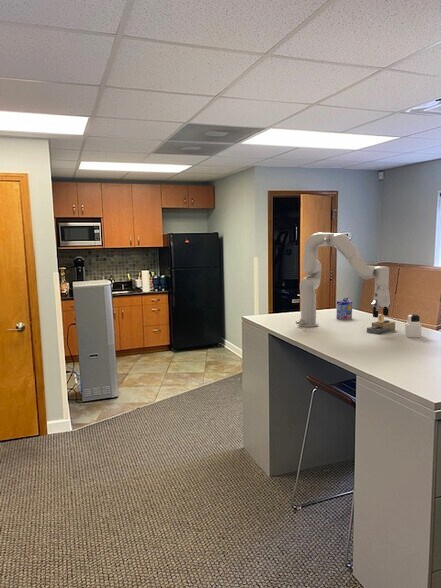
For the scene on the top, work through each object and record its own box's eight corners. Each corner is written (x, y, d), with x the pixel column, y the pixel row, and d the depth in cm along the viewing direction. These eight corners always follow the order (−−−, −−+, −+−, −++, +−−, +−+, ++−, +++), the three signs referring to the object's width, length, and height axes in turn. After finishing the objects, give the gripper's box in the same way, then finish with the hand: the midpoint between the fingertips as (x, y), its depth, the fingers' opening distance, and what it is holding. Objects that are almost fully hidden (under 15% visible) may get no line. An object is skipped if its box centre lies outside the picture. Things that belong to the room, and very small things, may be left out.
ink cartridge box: (341, 319, 287) (341, 298, 285) (335, 318, 292) (336, 297, 290) (352, 318, 291) (352, 297, 290) (347, 317, 296) (347, 296, 295)
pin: (381, 332, 248) (381, 315, 247) (376, 331, 251) (377, 314, 249) (384, 331, 250) (385, 314, 248) (380, 330, 252) (380, 313, 251)
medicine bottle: (418, 334, 238) (419, 314, 237) (421, 337, 231) (421, 316, 230) (405, 334, 240) (405, 313, 239) (407, 337, 233) (407, 316, 232)
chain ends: (378, 334, 242) (378, 324, 242) (366, 332, 249) (366, 322, 248) (395, 330, 251) (395, 321, 251) (383, 328, 258) (383, 319, 257)
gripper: (378, 289, 239) (377, 319, 241) (396, 286, 249) (394, 315, 251) (366, 288, 245) (365, 317, 247) (384, 285, 255) (383, 313, 257)
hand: (380, 316), depth 249 cm, fingers open, 9 cm apart
